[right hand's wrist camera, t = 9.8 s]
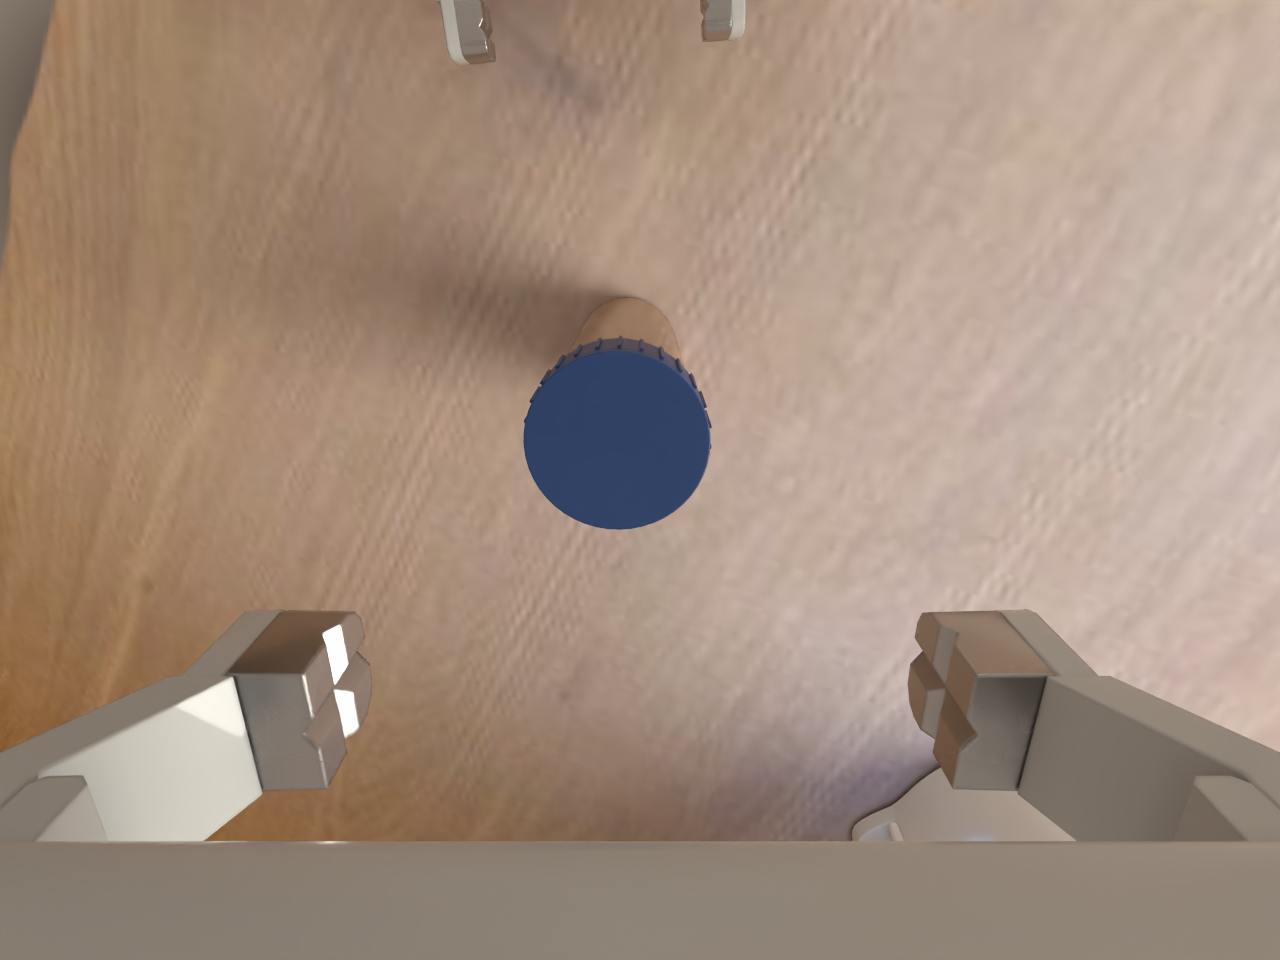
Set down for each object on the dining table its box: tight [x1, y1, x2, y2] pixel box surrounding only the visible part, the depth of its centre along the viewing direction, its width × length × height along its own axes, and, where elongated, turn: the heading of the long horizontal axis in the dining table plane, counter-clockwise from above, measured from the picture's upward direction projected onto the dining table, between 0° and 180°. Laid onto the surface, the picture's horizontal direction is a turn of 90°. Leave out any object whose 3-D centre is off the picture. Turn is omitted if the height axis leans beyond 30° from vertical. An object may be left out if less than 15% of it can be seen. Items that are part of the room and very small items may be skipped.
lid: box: [524, 336, 711, 529], centre depth 21 cm, size 6×6×2 cm
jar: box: [568, 298, 684, 367], centre depth 28 cm, size 5×5×16 cm
